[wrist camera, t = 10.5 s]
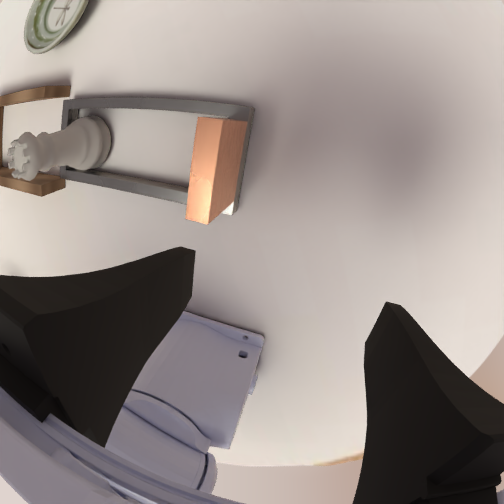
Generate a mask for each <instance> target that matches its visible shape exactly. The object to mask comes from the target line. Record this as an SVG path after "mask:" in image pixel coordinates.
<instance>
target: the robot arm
mask: <svg viewBox="0 0 504 504" xmlns="http://www.w3.org/2000/svg"><path fill="white" fill-rule="evenodd" d="M194 262H195V250H191V249H187V248H184V247H177V248H173V249H169V250H166V251H163V252H160V253H157V254H154V255H151V256H148V257H145V258H142V259H139V260H136V261H133V262H129V263H126V264H123V265H119V266H116V267H112V268H108V269H104V270H99V271H94V272H89V273H83V274H74V275H66V276H56V277H19V276H5V275H0V475H1V476H2V477H3V478H4V480H5V481H6V482H7V483H8V484H9V485H10V486H11V487H12V488H13V489H14V490H15V491H16V492H17V493H18V494H19V495H20V496H21V497H22V498H23V499H24V500H25V501H26V502H28V503H29V504H244V503H240V502H236V501H232V500H229V499H225V498H221V497H217V496H214V495H211V493H212V491H213V488H214V486H215V483H216V479H217V466H216V461H215V457H214V456H213V455H212V454H210V453H208V452H207V451H208V449H209V446H212V447H219V448H223V449H229V448H230V446H231V443H232V440H233V438H234V435H235V432H236V429H237V426H238V423H239V420H240V417H241V414H242V411H243V408H244V405H245V402H246V399H247V396H248V394H251V395H252V393H253V390H254V387H255V384H256V381H257V377H258V375H255V370H256V367H257V364H258V360H259V357H260V353H261V350H262V346H263V343H264V337H263V336H262V335H260V334H256V333H253V332H249V331H246V330H243V329H239V328H236V327H233V326H229V325H226V324H223V323H220V322H216V321H213V320H210V319H207V318H204V317H201V316H198V315H195V314H192V313H189V312H186V311H184V309H185V308H186V306H187V304H188V302H189V300H190V298H191V296H192V286H193V274H194ZM245 336H248V337H245ZM364 373H365V387H366V402H367V431H366V441H365V449H364V456H363V462H362V468H361V473H360V477H359V482H358V486H357V490H356V494H355V497H354V501H353V504H504V490H501V491H500V492H497V493H496V486H497V485H499V484H500V483H501V476H500V474H501V473H502V472H504V404H503V403H501V402H499V401H498V400H497V399H495V398H493V397H492V396H491V395H490V394H488V393H487V392H485V391H484V390H483V389H481V388H480V387H479V386H478V385H477V384H475V383H474V382H473V381H472V380H471V379H469V378H468V377H467V376H466V375H465V374H464V373H463V372H462V371H461V370H460V369H459V368H458V367H456V366H455V365H454V364H453V363H452V362H451V361H450V360H449V358H448V357H447V356H446V355H445V354H444V353H443V352H442V351H441V350H440V349H439V348H438V347H437V345H436V344H435V343H434V342H433V341H432V340H431V338H430V337H429V336H428V335H427V334H426V333H425V331H424V330H423V329H422V328H421V327H420V326H419V324H418V323H417V322H416V321H415V320H414V319H413V317H412V316H411V315H410V314H409V313H408V312H407V311H406V310H405V309H404V308H403V307H402V306H401V305H398V304H394V303H390V302H386V303H385V305H384V307H383V309H382V311H381V313H380V315H379V317H378V319H377V321H376V323H375V325H374V327H373V329H372V331H371V333H370V335H369V337H368V338H367V340H366V342H365V354H364Z"/></svg>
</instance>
